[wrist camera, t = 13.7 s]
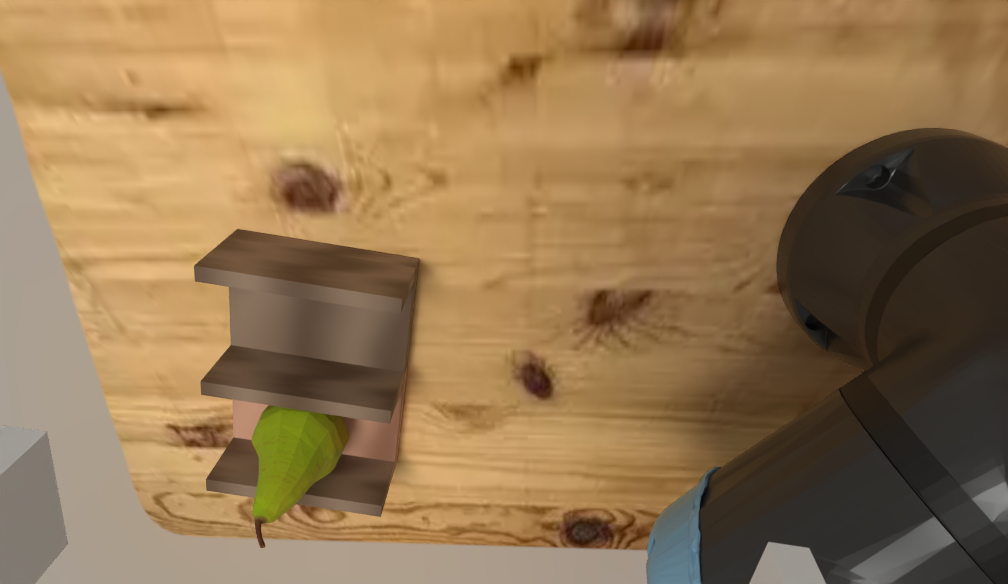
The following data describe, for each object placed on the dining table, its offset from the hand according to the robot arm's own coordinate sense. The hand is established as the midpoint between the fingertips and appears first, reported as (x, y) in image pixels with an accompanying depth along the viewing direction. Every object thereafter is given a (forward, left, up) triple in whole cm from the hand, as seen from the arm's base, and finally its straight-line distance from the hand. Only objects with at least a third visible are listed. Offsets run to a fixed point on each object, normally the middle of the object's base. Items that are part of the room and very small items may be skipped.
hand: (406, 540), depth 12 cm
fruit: (+10, +21, -29) cm, 37 cm away
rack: (+10, +17, -31) cm, 36 cm away
